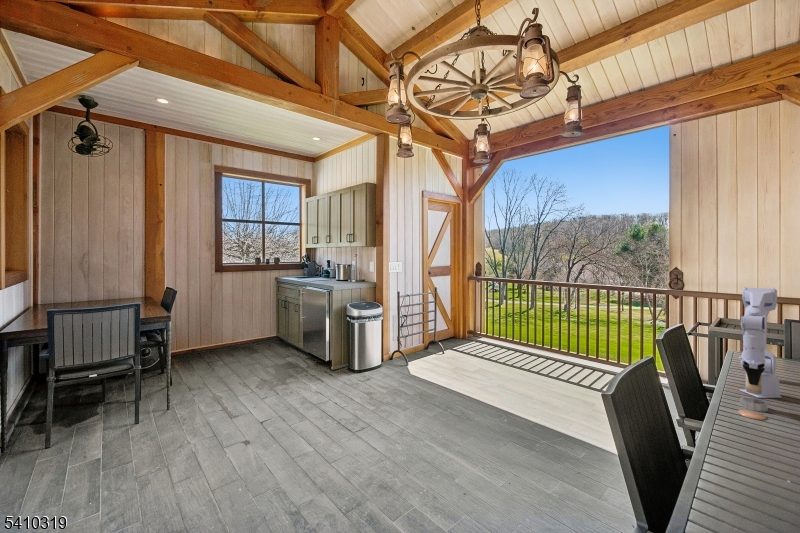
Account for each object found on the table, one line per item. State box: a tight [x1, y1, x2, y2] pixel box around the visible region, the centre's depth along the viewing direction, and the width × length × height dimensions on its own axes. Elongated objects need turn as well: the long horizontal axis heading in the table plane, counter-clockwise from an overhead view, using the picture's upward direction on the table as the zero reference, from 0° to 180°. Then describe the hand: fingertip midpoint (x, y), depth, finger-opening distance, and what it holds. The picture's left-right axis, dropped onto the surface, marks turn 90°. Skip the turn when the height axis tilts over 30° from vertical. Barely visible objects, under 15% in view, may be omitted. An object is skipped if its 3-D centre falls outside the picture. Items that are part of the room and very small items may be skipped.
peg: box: [745, 372, 762, 394], centre depth 127 cm, size 4×4×7 cm
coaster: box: [737, 409, 767, 421], centre depth 121 cm, size 7×7×1 cm
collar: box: [739, 396, 769, 413], centre depth 128 cm, size 7×7×2 cm
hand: (753, 383), depth 127 cm, fingers closed on peg, 4 cm apart
